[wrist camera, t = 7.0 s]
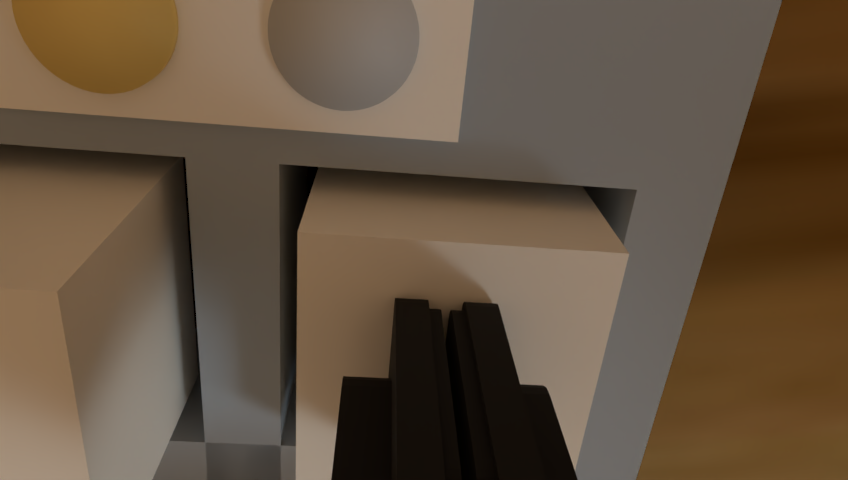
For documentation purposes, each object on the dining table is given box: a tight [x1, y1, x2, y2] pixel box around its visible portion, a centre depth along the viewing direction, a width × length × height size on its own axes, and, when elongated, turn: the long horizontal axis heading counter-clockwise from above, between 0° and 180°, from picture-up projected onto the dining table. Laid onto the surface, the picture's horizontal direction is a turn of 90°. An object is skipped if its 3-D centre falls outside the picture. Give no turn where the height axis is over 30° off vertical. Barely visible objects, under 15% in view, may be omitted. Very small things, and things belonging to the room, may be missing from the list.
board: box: [0, 0, 782, 480], centre depth 14 cm, size 16×23×4 cm
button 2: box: [296, 167, 629, 480], centre depth 13 cm, size 5×5×5 cm
